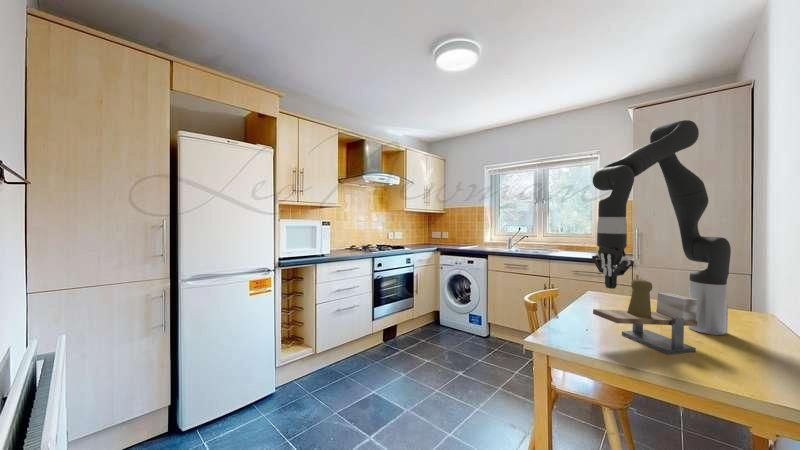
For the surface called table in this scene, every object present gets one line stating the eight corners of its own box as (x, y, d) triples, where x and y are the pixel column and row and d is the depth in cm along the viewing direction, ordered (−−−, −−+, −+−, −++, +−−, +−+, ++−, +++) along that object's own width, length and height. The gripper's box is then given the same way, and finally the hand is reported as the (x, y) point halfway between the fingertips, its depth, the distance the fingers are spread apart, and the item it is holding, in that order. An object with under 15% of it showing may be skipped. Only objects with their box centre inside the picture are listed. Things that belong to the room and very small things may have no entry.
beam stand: (646, 333, 105) (647, 304, 105) (695, 351, 90) (696, 318, 90) (621, 334, 103) (622, 305, 103) (667, 354, 88) (668, 320, 88)
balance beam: (663, 315, 103) (666, 292, 103) (700, 327, 92) (703, 301, 92) (590, 313, 99) (592, 288, 99) (620, 324, 88) (622, 297, 88)
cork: (656, 318, 92) (659, 282, 92) (633, 316, 93) (636, 280, 93) (644, 313, 98) (647, 279, 98) (623, 310, 99) (626, 277, 99)
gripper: (642, 233, 87) (641, 292, 87) (604, 231, 100) (603, 283, 101) (620, 233, 86) (618, 293, 86) (584, 231, 99) (583, 283, 99)
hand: (610, 288), depth 93 cm, fingers closed
